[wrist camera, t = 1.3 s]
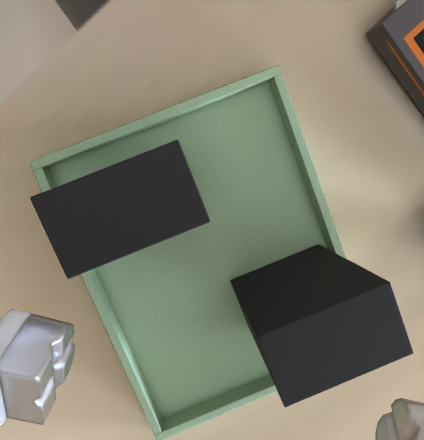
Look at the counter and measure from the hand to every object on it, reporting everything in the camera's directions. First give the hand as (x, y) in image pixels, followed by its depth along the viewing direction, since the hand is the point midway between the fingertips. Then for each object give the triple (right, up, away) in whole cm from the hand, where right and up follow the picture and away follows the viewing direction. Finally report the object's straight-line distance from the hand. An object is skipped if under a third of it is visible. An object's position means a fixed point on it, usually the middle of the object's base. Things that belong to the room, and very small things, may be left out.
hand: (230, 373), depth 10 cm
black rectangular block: (+5, -1, +20) cm, 20 cm away
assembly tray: (0, +1, +19) cm, 19 cm away
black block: (-5, +6, +18) cm, 19 cm away
